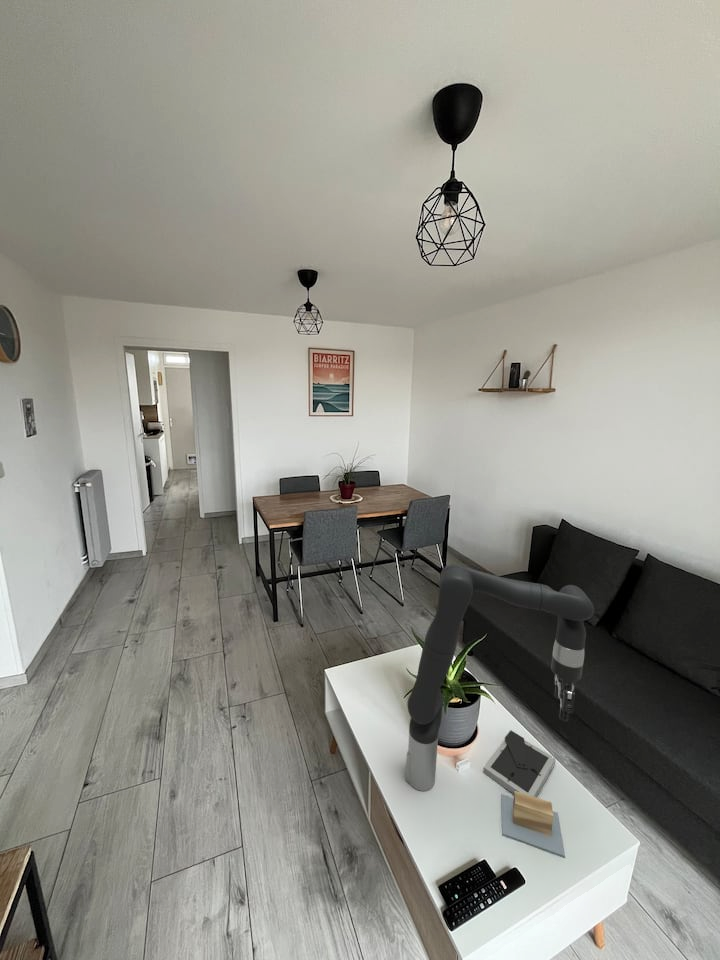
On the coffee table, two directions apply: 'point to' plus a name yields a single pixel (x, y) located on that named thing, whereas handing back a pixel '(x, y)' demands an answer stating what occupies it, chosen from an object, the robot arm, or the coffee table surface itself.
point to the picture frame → (519, 765)
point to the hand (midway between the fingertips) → (561, 708)
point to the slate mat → (531, 831)
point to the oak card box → (532, 813)
